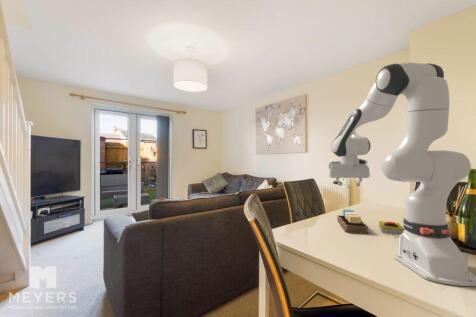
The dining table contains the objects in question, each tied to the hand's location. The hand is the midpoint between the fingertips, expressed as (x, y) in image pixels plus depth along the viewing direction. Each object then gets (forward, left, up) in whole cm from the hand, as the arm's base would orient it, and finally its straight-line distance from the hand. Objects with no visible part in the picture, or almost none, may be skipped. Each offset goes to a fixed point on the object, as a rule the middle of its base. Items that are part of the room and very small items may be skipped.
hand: (348, 185), depth 122 cm
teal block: (0, +1, -18) cm, 18 cm away
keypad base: (-6, +1, -21) cm, 22 cm away
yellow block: (-12, +1, -18) cm, 21 cm away
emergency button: (-8, -17, -22) cm, 29 cm away
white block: (-6, +1, -18) cm, 19 cm away
